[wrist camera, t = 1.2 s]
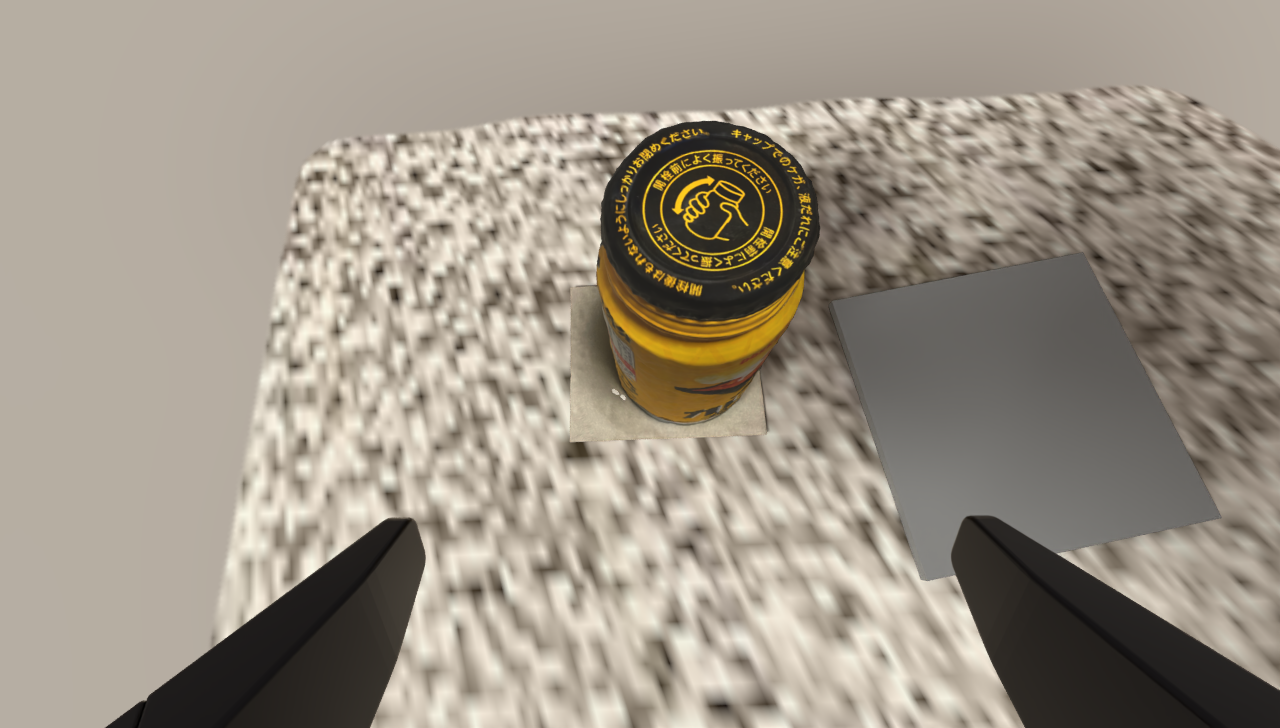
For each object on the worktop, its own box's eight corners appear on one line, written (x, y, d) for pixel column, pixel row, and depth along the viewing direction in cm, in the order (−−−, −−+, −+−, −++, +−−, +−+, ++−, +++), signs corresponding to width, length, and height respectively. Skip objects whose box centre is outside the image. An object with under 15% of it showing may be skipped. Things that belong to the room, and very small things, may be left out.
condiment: (766, 435, 22) (883, 336, 11) (570, 443, 22) (482, 353, 11) (749, 282, 24) (832, 66, 13) (571, 290, 25) (499, 83, 13)
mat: (1208, 518, 21) (1221, 517, 20) (921, 579, 20) (927, 580, 20) (1074, 257, 24) (1082, 252, 24) (828, 305, 24) (831, 300, 23)
